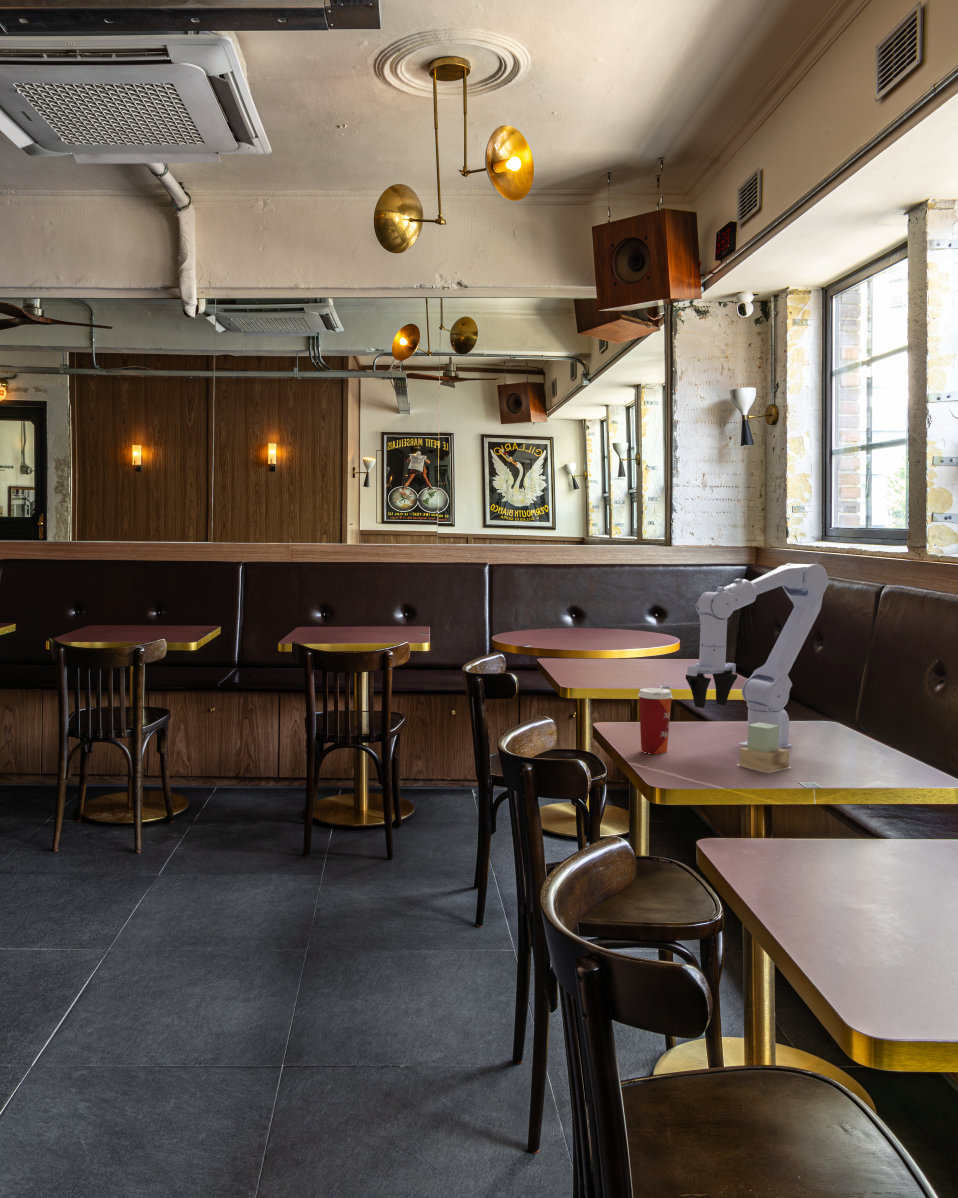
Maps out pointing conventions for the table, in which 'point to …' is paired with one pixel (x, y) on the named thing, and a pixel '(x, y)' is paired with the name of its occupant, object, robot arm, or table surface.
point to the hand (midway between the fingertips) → (710, 705)
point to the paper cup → (654, 719)
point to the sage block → (763, 737)
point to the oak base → (764, 759)
